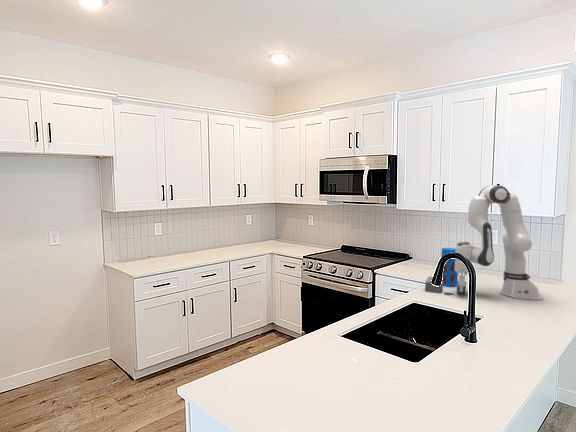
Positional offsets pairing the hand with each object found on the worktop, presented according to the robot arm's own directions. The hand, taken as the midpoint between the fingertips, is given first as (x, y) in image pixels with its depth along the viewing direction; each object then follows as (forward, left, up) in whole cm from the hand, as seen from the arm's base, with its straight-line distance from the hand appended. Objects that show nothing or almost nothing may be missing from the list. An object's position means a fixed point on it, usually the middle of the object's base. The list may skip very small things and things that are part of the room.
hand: (461, 290), depth 244 cm
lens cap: (+7, +3, -3) cm, 8 cm away
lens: (0, 0, -3) cm, 3 cm away
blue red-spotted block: (+8, -22, -3) cm, 24 cm away
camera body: (+16, -2, -3) cm, 16 cm away
